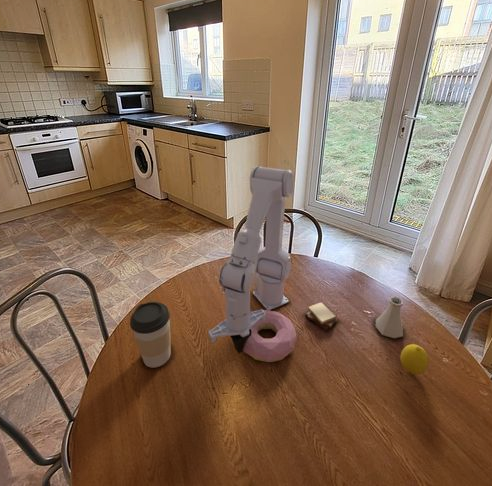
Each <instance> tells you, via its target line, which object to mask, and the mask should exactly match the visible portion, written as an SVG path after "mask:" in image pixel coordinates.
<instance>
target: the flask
mask: <svg viewBox="0 0 492 486" xmlns="http://www.w3.org/2000/svg"><path fill="white" fill-rule="evenodd" d="M403 301H404V300H402V299H401V298H400V297H397V296H391V297H390V296H389V305H387V308H386V309H385V310H384V311H383V312H382V313H381V314H380V315H379V316H377V318H376V319H375V328H376V329H377V331H379V333H380V334H381V335H382V336H384V337H388V338H392V339H397V338H402V337H404V327H403V323H402V318H401V307H402V306H404V302H403Z"/></svg>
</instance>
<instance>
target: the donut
mask: <svg viewBox="0 0 492 486" xmlns="http://www.w3.org/2000/svg"><path fill="white" fill-rule="evenodd" d="M262 310H263V311H264V313H265V314H266V320H264V321H261V320H259V321H258V322H257V323H256V324H255V325H254V326H253V327H251V328H250V329H251V331H252V333H251V336H250V337H249V338H248V339H247V341H246V343H245V345H244V348H243V352H244V354H247V355H248V356H250V357H251V358H253V359H254V360H256V361H261V362H265V363H273V362H274V363H275V362H278V361H282V360H283V359H285V357H287V356H288V355H290V354H291V353H292V352H293V351H294V350H295V348H296V343H297V333H296V328H295V325H294V324H293V323H292V321H291V320H290V319H289V318H288V317H287V316H285V315H283V314H282V313H280V312H279V311H273V310H267V309H262ZM261 330H271V331H273V332H274V333H276V334H275V336H274V337H271V338H265V337H262V336H261V335H260V334H259V332H260V331H261Z"/></svg>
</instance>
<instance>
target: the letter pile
mask: <svg viewBox="0 0 492 486" xmlns="http://www.w3.org/2000/svg"><path fill="white" fill-rule="evenodd" d="M307 310H308V312H306V313H305V317H306V318H307V319H309V320H311V321H312V322H313V323H314V324H316V325H317V326H319V327H320V328H322V330H324V331H328V330H329V329H332V326H333V325H335V324H336V323H337V322H338V319H337V314H336V313H333V312H332V311H331V310H330V309H329V308H328V307H327V306H326V305H325V304H324V303H323V302H322V301H321V302H318V303H315V304H312V305H309V306H308V307H307Z"/></svg>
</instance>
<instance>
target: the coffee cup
mask: <svg viewBox="0 0 492 486" xmlns="http://www.w3.org/2000/svg"><path fill="white" fill-rule="evenodd" d="M170 317H171V313H170V311H169V308H168V307H167V306H166V305H165V304H164V303H161V302H158V301H149V302H145V303H141V304H139V305H137V307H135V310H134V311H133V313H132V314H131V316H130V319H129V325H130V328H131V330H132V333H133V337H134V340H135V342H136V345H137V348H138V351H139V353H140V354H141V355H140V356H141V358H142V361H143V363H144V365H145V367H148V368H152V369H153V368H158V367H161V366H163V365H165V364H166V363H167V362H168V360H169V359H170V357H171V354H172V351H171V350H172V349H171V348H172V347H171V342H172V337H171V320H170Z"/></svg>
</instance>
